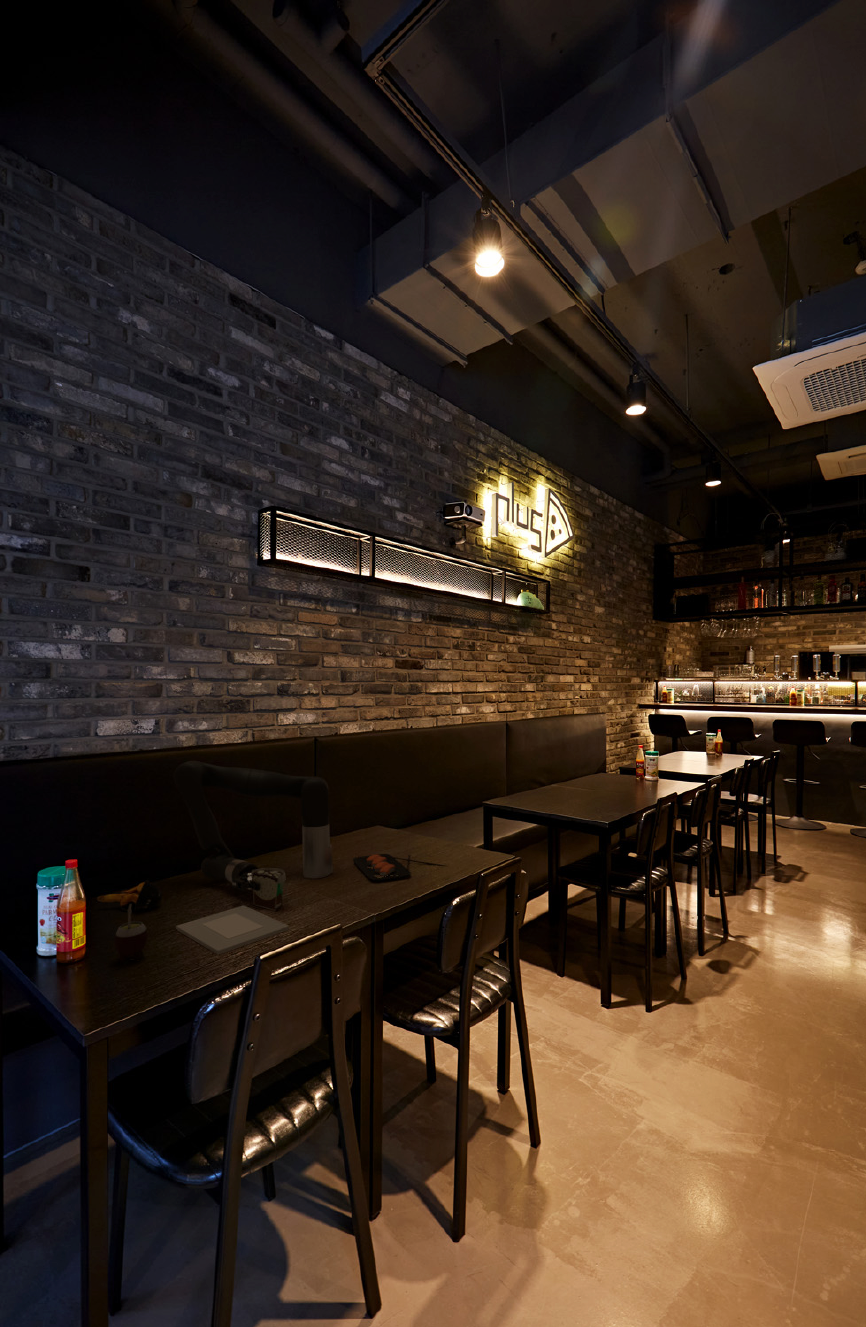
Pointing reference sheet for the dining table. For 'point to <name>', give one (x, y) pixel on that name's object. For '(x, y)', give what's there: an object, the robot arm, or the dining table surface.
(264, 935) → the dock
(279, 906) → the food container
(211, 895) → the dining table surface
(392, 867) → the sushi plate
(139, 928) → the mate gourd
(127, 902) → the fried shrimp in bowl
